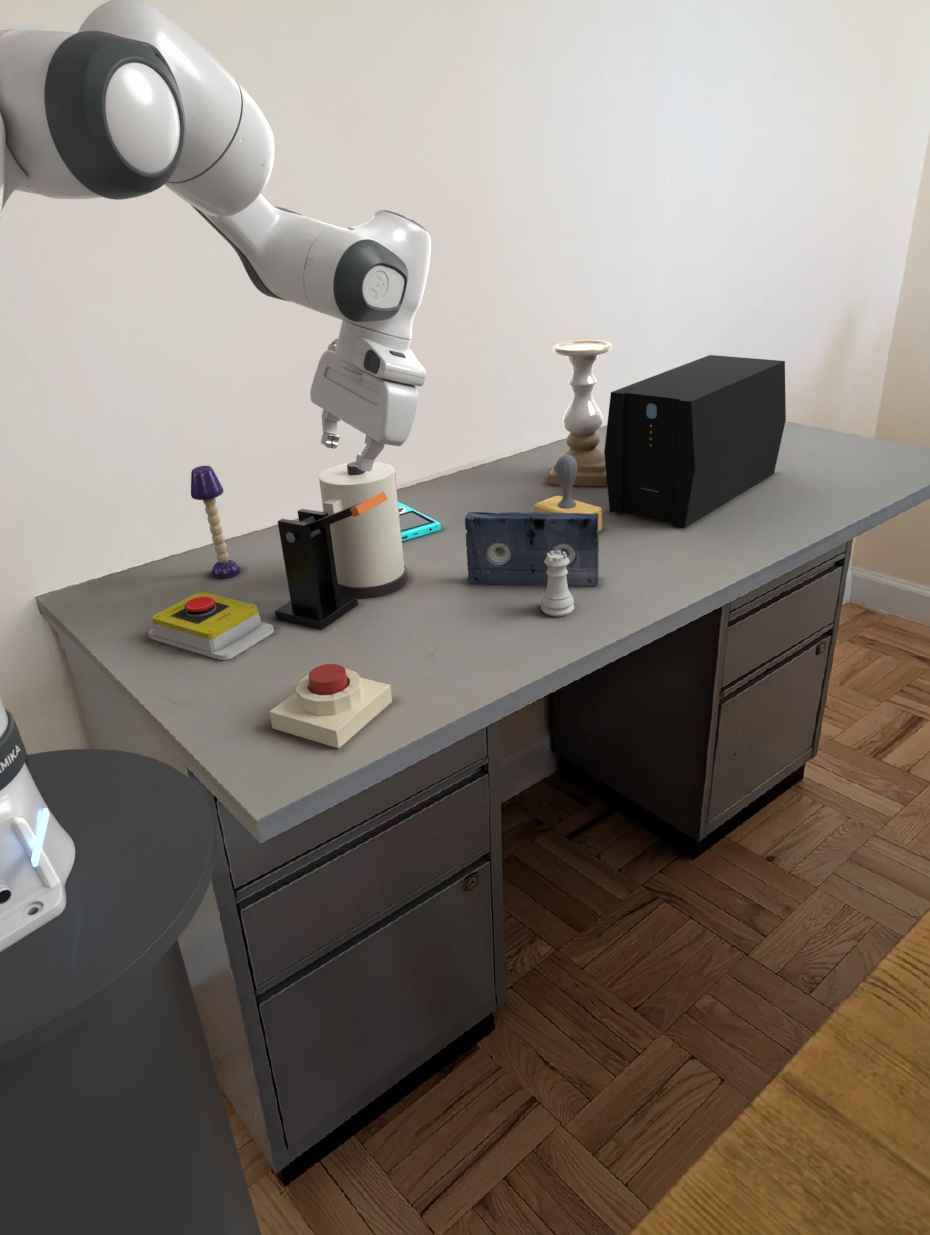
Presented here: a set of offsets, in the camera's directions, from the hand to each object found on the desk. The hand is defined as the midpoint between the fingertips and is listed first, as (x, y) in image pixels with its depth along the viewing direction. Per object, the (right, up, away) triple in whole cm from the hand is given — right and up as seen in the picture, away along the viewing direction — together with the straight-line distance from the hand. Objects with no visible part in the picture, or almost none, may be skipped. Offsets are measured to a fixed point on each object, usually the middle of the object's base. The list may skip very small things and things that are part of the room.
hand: (345, 457), depth 117 cm
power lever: (0, -9, -3) cm, 10 cm away
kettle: (+2, -16, +13) cm, 20 cm away
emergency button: (-18, -23, +1) cm, 29 cm away
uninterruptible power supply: (+56, +1, +39) cm, 69 cm away
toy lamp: (-21, -14, +19) cm, 32 cm away
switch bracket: (-4, -20, +5) cm, 21 cm away
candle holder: (+38, +5, +50) cm, 63 cm away
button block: (+1, -32, -19) cm, 37 cm away
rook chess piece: (+28, -20, +1) cm, 35 cm away
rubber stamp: (+32, -6, +27) cm, 43 cm away
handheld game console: (+4, -5, +34) cm, 34 cm away
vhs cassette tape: (+25, -16, +10) cm, 32 cm away
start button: (+1, -28, -20) cm, 35 cm away
